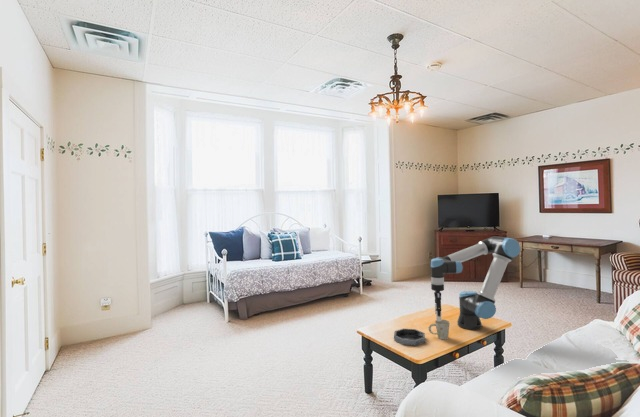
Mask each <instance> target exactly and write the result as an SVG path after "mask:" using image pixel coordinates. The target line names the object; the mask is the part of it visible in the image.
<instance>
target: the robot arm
mask: <svg viewBox="0 0 640 417" xmlns="http://www.w3.org/2000/svg"><path fill="white" fill-rule="evenodd" d="M520 253H521V245H520V243H519V242H518V240H516V239H515V238H511V237H505V236H498V235H497V236H491V237H488V238H485V239H483V240H480V241H478V243H476V244H474V245H471V246H469V247H467V248H466V247H465V248H463V249H461V250H458V251H456V252H452V253H451V254H448V255H446V256H442V257H440V256H439V257H435V258H432V259H431V260H430V275H431V276H430V279H429V280H431V284H430V289H431V290H432V291H434V293H433V294H434V295H433V296H434V312H435V315H436V320H437V321H441V320H442V291H444V290H445V275H447V274H448V275H450V274H460V273H462V272H463V268H464V266H463V264H462V263H464V262H467V261H469V260H471V259H474V258H477V257H479V256H482V255H484V256H486V255H489V254H492V257H493V259H492V261H491V262H490V266H489V268H488V271H487V273H486V276H485V278H484V281H483V283H482V286H481V288H480V290H479V291H473V290H472V291H471V290H467V291H465V290H463V291H460V292H459V299H458V300H459V315H458V318H457V321H456V322H457V326H458V327H459V328H462V329H465V330H472V331H474V330H475V331H476V330H481V329H482V328H483V325H482V324H483V323H482V321H481V319H484V320H489V319H491V318H493V317H494V316H495V315H496V312H497V307H496V305H495V303H496V299H495V295H496V293H497V291H498V288H499V287H500V283H501V281H502V280H503V277H504V273H505V271H506V269H507V266H508V264H509V263H510V262H513V258H516V257H517V256H518V255H520Z"/></svg>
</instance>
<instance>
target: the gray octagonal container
mask: <svg viewBox="0 0 640 417" xmlns="http://www.w3.org/2000/svg"><path fill="white" fill-rule="evenodd" d="M393 340H394V342H396V343H397V344H401V345H403V346H414V347H416V346H417V347H418V346H420V345H422V344H423V345H424V344H425V343H426V334H425V332H423V331H420V330H418V329H416V328H400V329H396V330H394V333H393Z"/></svg>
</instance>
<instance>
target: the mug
mask: <svg viewBox="0 0 640 417" xmlns="http://www.w3.org/2000/svg"><path fill="white" fill-rule="evenodd" d="M432 327H436V332H433V331H432ZM428 331H429V333H430V334H431V335H434V336H435V335H437V338H438V339H440V340H448V339H449V332H450V320H447V319H441V321H437V319H436V320H435V323H431V324H430V325H429V326H428Z"/></svg>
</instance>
